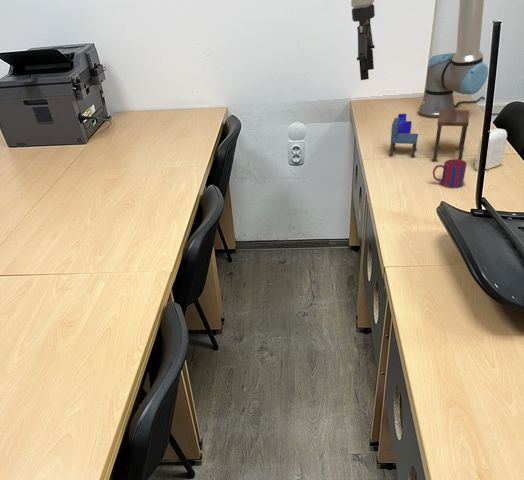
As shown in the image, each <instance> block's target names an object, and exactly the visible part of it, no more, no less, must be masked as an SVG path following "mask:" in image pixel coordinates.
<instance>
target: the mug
mask: <svg viewBox="0 0 524 480" xmlns="http://www.w3.org/2000/svg"><path fill="white" fill-rule="evenodd" d="M438 168H442V175H441V178H438V177H436V174H435V173H436V170H437V169H438ZM466 169H467V162H466V161H465V160H463V159H462V160H458V158H457V159H456V158H453V159H447V160H445V161H444V164H443V165H442V164H438V165H437V164H436V165H435V166H434V168H433V170H432V177H433V178H434V179H435V180H436V181H437V182H441V185H442V186H444V187H446V188H460V187H462V186H463V185H464V182H465V181H464V179H465V174H466Z"/></svg>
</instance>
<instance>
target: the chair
mask: <svg viewBox="0 0 524 480" xmlns="http://www.w3.org/2000/svg"><path fill="white" fill-rule="evenodd" d="M398 125H399V118H398V117H394V119H393V121H392V123H391V134H390V148H389V157H393V156H394V151H395V150H396V144H402V145H403V144H406V145H412V147H411V158H415V153H416V151H417V144H418V138H419V133H411V132H410V133H398Z"/></svg>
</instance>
